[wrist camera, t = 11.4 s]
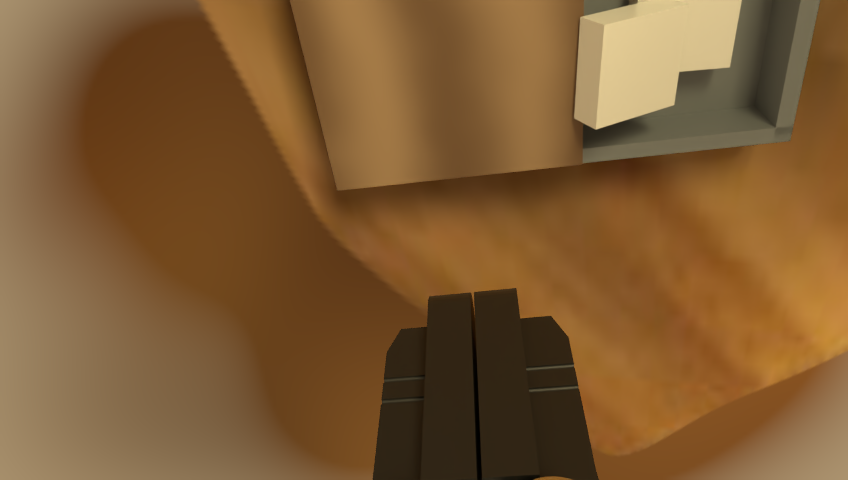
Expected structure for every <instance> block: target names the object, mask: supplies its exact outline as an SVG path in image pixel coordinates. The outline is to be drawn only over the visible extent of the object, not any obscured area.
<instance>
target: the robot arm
mask: <svg viewBox="0 0 848 480" xmlns="http://www.w3.org/2000/svg"><path fill="white" fill-rule="evenodd" d="M474 304H475V315H474V307H473V301H472V295H471V293H461V294H451V295H440V296H430V297H429V300H428V319H427V327H421V328H409V329H401V330H400V332H399V334H398V335H397V337H396V339H395V340H394V342H393V343H392V345H391V347H390V348H389V350H388V351H387V356H386V366H385V374H384V384H383V392H382V405H381V410H380V419H379V428H378V437H377V446H376V456H375V464H374V473H373V480H599V479H598V476H597V472H596V469H595V464H594V459H593V455H592V449H591V444H590V440H589V435H588V430H587V425H586V420H585V416H584V411H583V406H582V401H581V396H580V391H579V389H578V382H577V377H576V372H575V368H574V362H573V358H572V353H571V348H570V343H569V338H568V336H567V335H566V334H565V333H564V331H563V330H562V329H561V328H560V326H559V325H558V324H557V323H556V322H555V320H554V319H553V318H552V317H551V316H545V317H533V318H522V319H520V314H519V306H518V298H517V290H516V288H513V289H503V290H492V291H481V292H474Z"/></svg>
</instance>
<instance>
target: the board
mask: <svg viewBox="0 0 848 480" xmlns="http://www.w3.org/2000/svg"><path fill="white" fill-rule="evenodd" d="M290 3H291V7H292V11H293V15H294V19H295V23H296V27H297V31H298V35H299V39H300V43H301V47H302V51H303V55H304V59H305V63H306V67H307V71H308V75H309V79H310V83H311V87H312V91H313V95H314V99H315V103H316V107H317V111H318V115H319V119H320V123H321V127H322V132H323V136H324V140H325V144H326V148H327V152H328V156H329V160H330V164H331V168H332V172H333V176H334V180H335V184H336V188H337V191H340V190H349V189H359V188H368V187H377V186H387V185H396V184H406V183H415V182H424V181H434V180H443V179H452V178H462V177H471V176H481V175H490V174H499V173H509V172H518V171H527V170H537V169H546V168H556V167H565V166H574V165H583V123H582V122H580V121H578V120H576V119H575V118H574V112H575V95H576V79H577V63H578V46H579V30H580V17H582V16H584V0H290Z"/></svg>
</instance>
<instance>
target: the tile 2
mask: <svg viewBox="0 0 848 480" xmlns="http://www.w3.org/2000/svg"><path fill="white" fill-rule="evenodd" d="M645 1H650V0H629V5H633V4H637V3H641V2H645ZM676 1H680V2H684V3H688V4H689V11H688V17H687V24H686V30H685V37H684V44H683V50H682V57H681V63H680V70H679V72H683V71H695V70H706V69H718V68H729V67H730V63H731V58H732V52H733V47H734V41H735V35H736V30H737V24H738V19H739V13H740V8H741V2H742V0H676ZM629 5H628V6H629Z"/></svg>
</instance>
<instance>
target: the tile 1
mask: <svg viewBox="0 0 848 480" xmlns="http://www.w3.org/2000/svg"><path fill="white" fill-rule="evenodd" d="M688 11H689V4H688V3H684V2H680V1H676V0H650V1H645V2H641V3H637V4H633V5H629V6H624V7H620V8H616V9H612V10H608V11H603V12H599V13H595V14H591V15H586V16H582V17H580V30H579V46H578V63H577V79H576V95H575V112H574V118H575V119H576V120H578V121H580V122H582V123H584V124H586V125H588V126H590V127H592V128H594V129H599V128H603V127H606V126H609V125H612V124H615V123H618V122H622V121H625V120H628V119H631V118H634V117H638V116H641V115H644V114H647V113H650V112H654V111H657V110H660V109H663V108H666V107H670V106H673V105H674V103H675V96H676V90H677V83H678V76H679V70H680V63H681V57H682V50H683V44H684V37H685V30H686V24H687V17H688Z"/></svg>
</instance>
